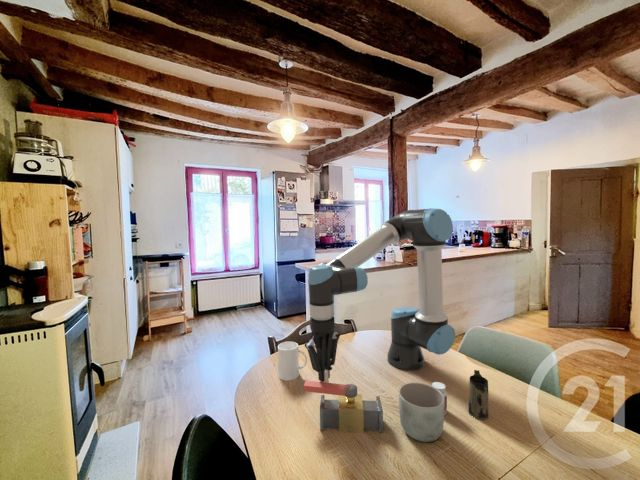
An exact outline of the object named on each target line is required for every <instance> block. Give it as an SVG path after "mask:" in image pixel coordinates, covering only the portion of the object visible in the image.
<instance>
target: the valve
mask: <svg viewBox="0 0 640 480" xmlns="http://www.w3.org/2000/svg"><path fill="white" fill-rule="evenodd" d="M362 395H363V394H361V393H357V396H356V397H353V398H349V397H346V396H341V395H338V399H327V398H326V399H325V397H326V396H325V394H321V395H320V402H319V403H320V405H319V431H321V432H323V431H324V430H325V429H337V430H338V432H340V433H360V434H361V433H362V434H363V433H364V430H365V431H370V430H371V431H378V432H379V433H381V434H383V433H384V409H383V405H382V400H381V398H380V396H377V395H376V396H375V397H376V398H375V400H363V396H362Z"/></svg>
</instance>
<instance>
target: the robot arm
mask: <svg viewBox="0 0 640 480" xmlns="http://www.w3.org/2000/svg"><path fill="white" fill-rule="evenodd" d="M453 225H454V224H453V220H452V218H451V216H450V215H449V214H448V213H447V212H446V211H445V210H444V209H441V208H423V209H409V210H405V211H403V212H399V214H396V215H395V216H392V217H391V218H389V219H388V220H386V221H385V222H384V223H382V224H381V226H380V228H379V229H378V230H376V231H374V232H373V233H371V234H370V235H368V236H367V237H365V238H364V239H362V240H360V241H359V242H358V243H356V244H354V245H353V246H352V247H349V249H347V250H346V251H344V252H342V253H341V254H340V255H338V256H336V257H335V258H334V259H331V260H330V261H329V262H321V263H319V264H317V265H312V266H310V267H309V269H308V277H307V278H308V279H307V283H308V295H309V298H308V299H309V300H308V301H309V316H310V318H309V326H310V327H309V328H310V331H311V333H310V334H311V335H310V339H309V341H308V342H305V343H304V347H305V348H306V350H307V352H308V356H309V360H310V363H311V367H312V370H313V371H315V372H317V373H318V381H319V382H325V383H330V382H329V381H330V380H329V379H330V377H331V374H330V371H332V370H333V367H332V366H334V365H335V364H336V363H335V362H336V356H337V350H338V344H339V343H338V342H339V340H340V336H341V334H340V333H338V332H337V331H335V325H336V324H335V296H338V295H344V294H349V293H357V292H360V291H363V290H365V289H366V288H367V286H368V283H369V282H368V279H369V278H368V274H367V272H366V270H365V269H363V267H361V266H362V265H363V264H364V263H366V262H367V261H369V260H370V259H372V258H374V256H375V257H376V255H377V254H379V253H381V252H383V250H385V249H386V248H387V247H389V246H390V245H396V244H398V243H400V242H401V241H405V240H411V241H412V247H414V249H416V256H417V257H416V259H417V262H416V263H417V287H418V288H417V289H418V290H417V291H418V294H417V295H418V307H414V306H413V307H412V306H401V307H397V308H396V307H395V308H394V309H393V310H392V311H391V318H390V321H391V324H390V325H391V328H390V329H391V343H390V346H389V349H388V352H387V361H388V364H390V365H391V366H392V367H395V368H397V369H401V370H406V371H415V370H419V368H420V369H422V368H423V367H424V366H425V358H424V357H425V356H424V354H423V349H424V350H425V351H428V352H429V353H433V354H435V355H438V356H440V355H444V354H447V352H448V351H450V349H451V347H452V346H453V345H454V342H455V340H456V330H455V328H454V327H453V326H452V325H451V324H449V321H448V320H449V318H448V315H447V314H446V313H445V312H444V300H443V299H444V297H443V296H444V295H443V294H444V292H443V291H444V290H443V262H442V260H443V256H442V250H443V249H444V247H446V245H447V241H448V240H449V239H450V238H451V236H452V234H453V233H454V232H453V231H454V226H453ZM423 365H424V366H423ZM421 367H422V368H421Z"/></svg>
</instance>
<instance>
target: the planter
mask: <svg viewBox="0 0 640 480" xmlns="http://www.w3.org/2000/svg"><path fill="white" fill-rule="evenodd" d="M444 406H445V398H444V396H443V394H442V393H441V392H440V391H439V390H438V389H436V388H435V387H433V386H432V385H430V384H427V383H423V382H415V381H414V382H407V383H404V384H402V385H401V386H400V387H399V389H398V407H399V408H398V409H399V411H398V413H399V420H400V425H401V427H402V429H403V431H404V433H406V435H408V436H409V437H410V438H412V439H414V440H415V441H419V442H423V443H430V442H434V441H436V440H437V439H439V438H440V437H441V435H442V433H443V430H444V429H443V428H444V423H445V422H444V420H445V415H444Z"/></svg>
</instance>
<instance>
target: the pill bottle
mask: <svg viewBox="0 0 640 480" xmlns="http://www.w3.org/2000/svg"><path fill="white" fill-rule="evenodd" d="M431 386H433V387H435V388H436V389H438V390H439V391H440V392H441V393H442V394H443V396H444V398H445V406H444V416H445V415H446V414H447V412H448V410H447V409H448V405H447V404H448V399H447V398H448V393H447V389H446V384H444V383H443V382H439V381H434V382H432V384H431Z"/></svg>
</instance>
